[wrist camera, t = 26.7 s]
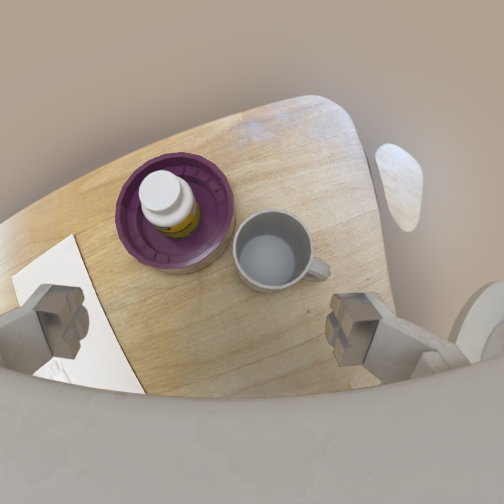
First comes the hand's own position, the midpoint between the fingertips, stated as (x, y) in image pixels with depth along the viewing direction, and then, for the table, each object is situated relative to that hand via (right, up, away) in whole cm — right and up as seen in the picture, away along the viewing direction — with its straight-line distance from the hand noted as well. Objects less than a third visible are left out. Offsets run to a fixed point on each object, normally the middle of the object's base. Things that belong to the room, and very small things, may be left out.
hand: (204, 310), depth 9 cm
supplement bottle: (-7, +6, +27) cm, 28 cm away
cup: (+4, 0, +27) cm, 27 cm away
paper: (-23, -10, +24) cm, 35 cm away
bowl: (-7, +6, +27) cm, 29 cm away
